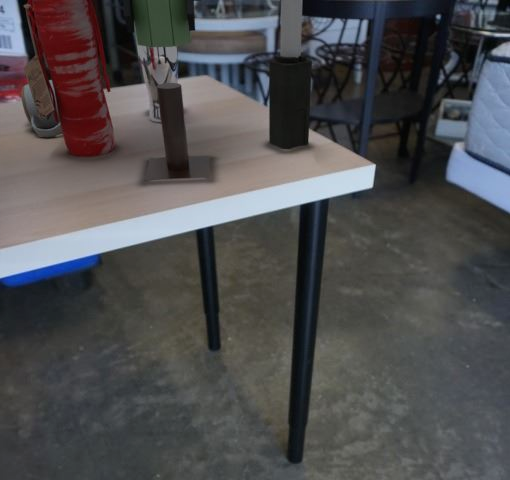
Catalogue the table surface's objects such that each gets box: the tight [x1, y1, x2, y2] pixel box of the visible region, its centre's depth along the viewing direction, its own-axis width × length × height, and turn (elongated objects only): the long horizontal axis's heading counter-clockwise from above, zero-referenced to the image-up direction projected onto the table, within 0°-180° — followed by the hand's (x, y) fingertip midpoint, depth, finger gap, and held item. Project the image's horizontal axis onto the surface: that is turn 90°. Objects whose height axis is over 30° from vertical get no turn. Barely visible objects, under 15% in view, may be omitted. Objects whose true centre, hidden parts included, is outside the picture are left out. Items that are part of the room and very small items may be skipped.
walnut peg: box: [144, 83, 211, 181], centre depth 74 cm, size 9×9×12 cm
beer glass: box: [135, 35, 179, 123], centre depth 96 cm, size 7×7×15 cm
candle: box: [268, 0, 313, 150], centre depth 77 cm, size 5×5×25 cm
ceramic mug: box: [20, 79, 63, 138], centre depth 94 cm, size 11×8×8 cm
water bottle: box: [23, 0, 116, 158], centre depth 76 cm, size 12×8×25 cm, turn 98°
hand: (160, 23), depth 65 cm, fingers closed on green ring, 7 cm apart
